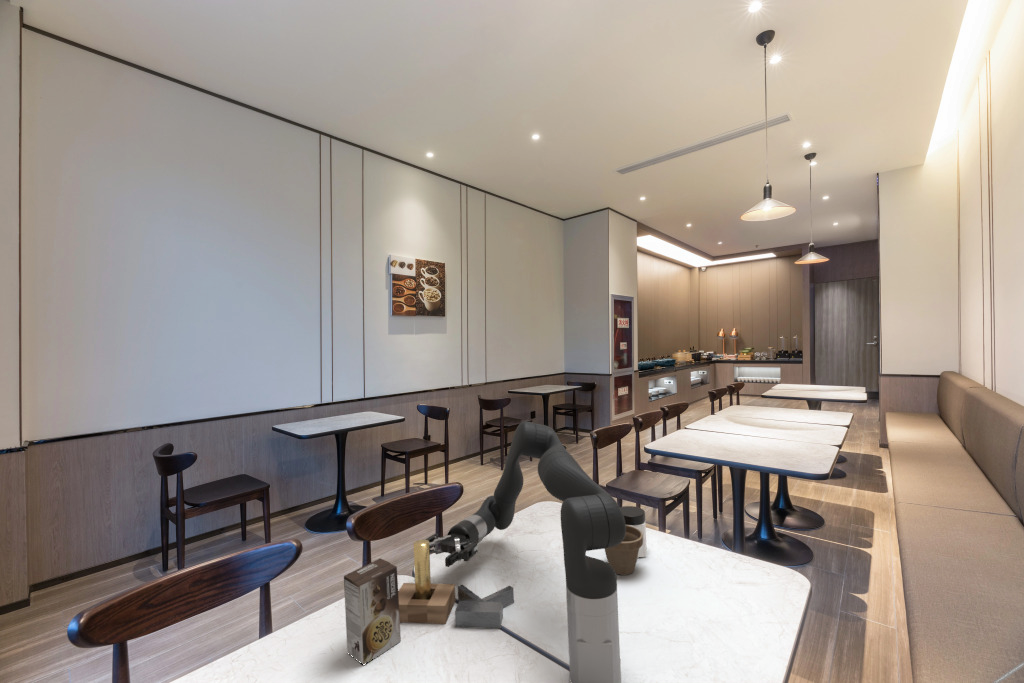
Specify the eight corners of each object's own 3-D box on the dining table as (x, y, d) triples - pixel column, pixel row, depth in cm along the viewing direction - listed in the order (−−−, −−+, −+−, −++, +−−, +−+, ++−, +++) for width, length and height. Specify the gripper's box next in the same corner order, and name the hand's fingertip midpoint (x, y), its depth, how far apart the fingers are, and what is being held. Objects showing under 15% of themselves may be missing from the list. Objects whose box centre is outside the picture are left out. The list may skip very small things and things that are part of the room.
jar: (619, 543, 134) (617, 504, 135) (647, 547, 132) (645, 506, 132) (615, 557, 126) (614, 515, 126) (645, 561, 123) (643, 518, 123)
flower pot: (654, 574, 116) (652, 536, 116) (617, 584, 112) (615, 545, 112) (627, 555, 127) (625, 520, 127) (593, 564, 123) (591, 528, 123)
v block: (508, 628, 96) (508, 612, 96) (447, 626, 98) (446, 610, 98) (514, 600, 107) (513, 585, 107) (459, 598, 109) (458, 584, 109)
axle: (429, 615, 102) (426, 546, 102) (414, 615, 103) (411, 546, 103) (433, 606, 106) (431, 539, 106) (419, 606, 106) (416, 539, 106)
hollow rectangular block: (445, 623, 99) (445, 605, 99) (390, 621, 101) (389, 604, 101) (455, 600, 108) (455, 584, 108) (404, 599, 110) (403, 582, 110)
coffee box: (383, 630, 98) (380, 557, 98) (401, 641, 94) (398, 565, 94) (345, 653, 91) (342, 574, 91) (363, 667, 87) (359, 584, 87)
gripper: (446, 516, 125) (408, 539, 111) (489, 523, 119) (455, 549, 104) (447, 542, 125) (409, 569, 111) (491, 551, 119) (457, 581, 104)
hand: (432, 559), depth 108 cm, fingers open, 8 cm apart
